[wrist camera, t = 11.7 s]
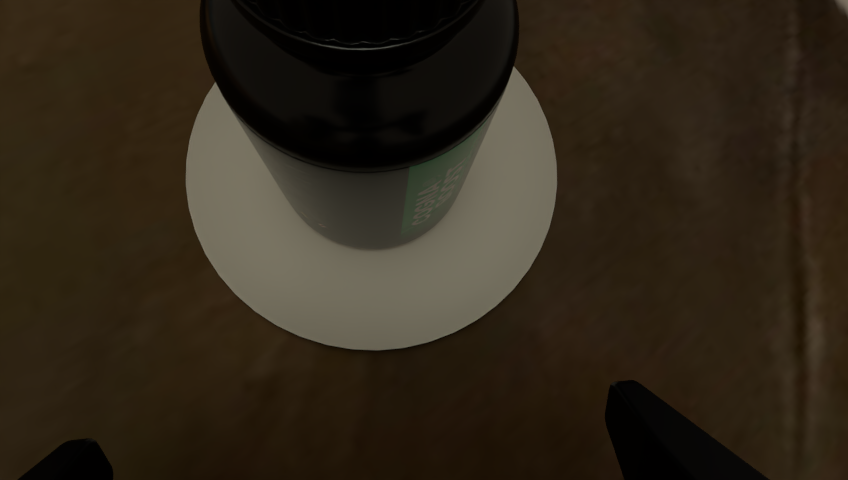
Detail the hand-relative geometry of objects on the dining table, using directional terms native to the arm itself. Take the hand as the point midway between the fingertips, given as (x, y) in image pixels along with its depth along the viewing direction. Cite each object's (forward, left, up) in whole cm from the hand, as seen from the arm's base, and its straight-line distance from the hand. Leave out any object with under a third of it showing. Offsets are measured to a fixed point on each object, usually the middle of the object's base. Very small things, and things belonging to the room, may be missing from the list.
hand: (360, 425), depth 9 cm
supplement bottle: (+8, -1, -8) cm, 12 cm away
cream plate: (+8, -1, -9) cm, 13 cm away
